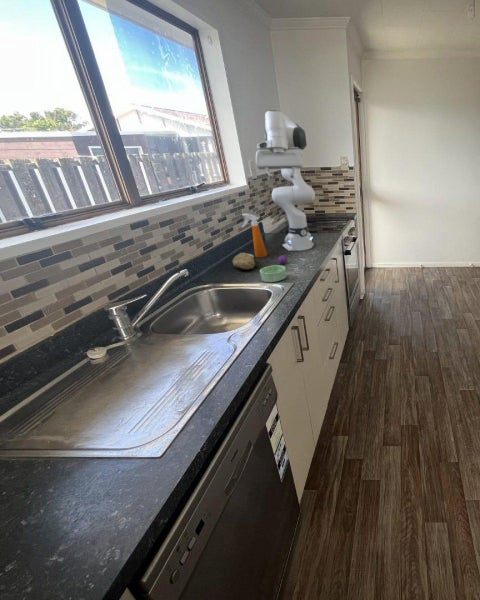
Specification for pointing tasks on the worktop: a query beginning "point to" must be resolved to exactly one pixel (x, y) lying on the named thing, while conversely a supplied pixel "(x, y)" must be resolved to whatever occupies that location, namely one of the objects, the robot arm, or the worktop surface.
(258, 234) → the spray bottle
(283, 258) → the ball
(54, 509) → the worktop surface
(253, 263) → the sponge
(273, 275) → the bowl
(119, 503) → the worktop surface
